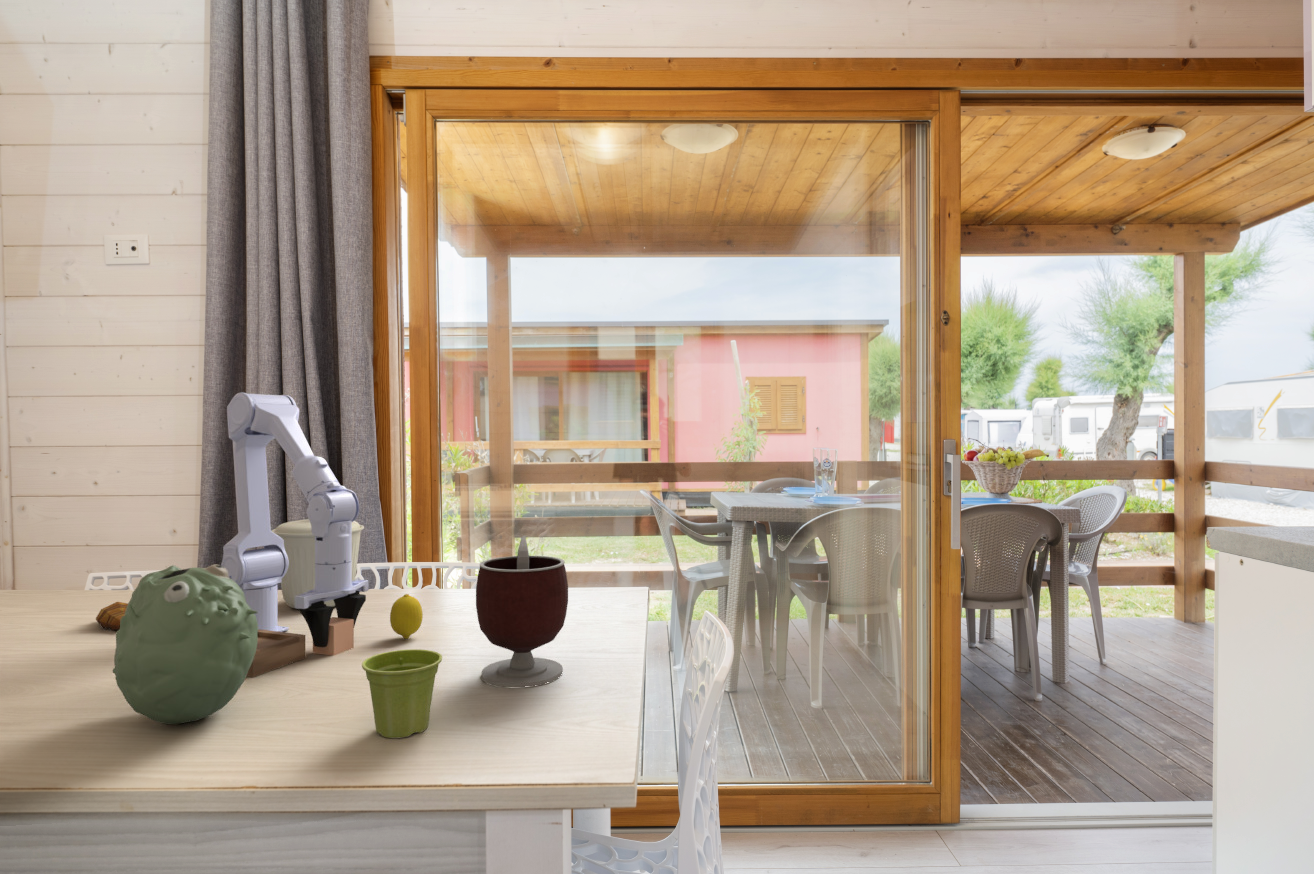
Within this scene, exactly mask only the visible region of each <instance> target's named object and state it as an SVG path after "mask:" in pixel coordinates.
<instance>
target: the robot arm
mask: <svg viewBox="0 0 1314 874" xmlns="http://www.w3.org/2000/svg"><path fill="white" fill-rule="evenodd" d="M226 413H227V414H226V416H227V431H228V432H227V434H228V439H230V440H231V441H232V452H233V453H232V454H233V467H234V468H233V469H234V470H233V471H234V484H235V486H234V487H235V499H236V501H235V502H236V517H237V519H236V520H237V531H238V533H237V534H236V535H234V536H233V538H232V539H230V540H229V541H227V543H225V545H223V547H222V548H223V549H222V550H223V552H222V553H223V555H222V560H221V564H220V565H222V566H223V567H225V568H226V569H227V571H228V577H229V579H231V580H233V581H235V582H236V583H237V584H238V586H239V587H240V588H241V589H242V591H243V592H244V595H245V600H246V603H247V604H248V606H249V607H250V608H251V610H255V611H257V612H258V613H255V616H256V619H257V623H258V629H261V630H270V631H278V632H285V631H288V630H289V626H282V625H279V624H278V623H279V622H278V618H279V616H278V615H279V614H278V611H279V610H278V609H279V608H278V607H279V604H278V599H279V598H278V594H279V593H278V591H279V590H278V587H279V585H278V584H281V578H282V577H284V576H285V574H286V572H287V570H288V565H289V560H288V556H287V554H286V551H285V548H284V540H283V539H282V538H281V537H279V536H278V535H276V534H275V533H273V532H272V527H271V515H270V513H271V512H270V498H269V497H270V496H269V495H270V494H269V484H268V483H269V482H268V481H269V480H268V467H267V453H266V451H267V450H266V448H267V446H268V445H269V443H270V442H271V441H273V440H276V442H277V443H278V444H279V446H280V447H281V448H282V450H283V451H284V452H285V453H286V455H287V457H288V458H289V460H291V462H292V463H293V464H294V466H293V468H292V471H291V475H292V478H293V479H294V481H295V482H296V484H297V485H298V488H299V489H300V490H301V493H302V494H303V496H304V497H305V499H306V501H307V502H308V506H307V508H306V516H307V519H309V521H310V523H311V533H312V534H313V536H315V588H314V589H312V590H310V591H308V592H305V593H303V594H301V595H298V596H295V608H294V609H296V608H299V609H298V611H299V613H300V614H301V616H302V617H303V619H304V620H305V622H306V625H307V626H308V629H309V632H310V635H311V638H312V644H313V643H314V646H315V647H326V646H327V643H328V632H329V623H330V618H332V615H333V611H334V609H335V611H336V614H337V618H346V619H354V627H355V626H356V622H357V619H358V616H359V614H360V612H361V609H362V607H363V606H364V604H365V602H366V600H367V597H366V596H367V595H366V594H362V592H363V593H365V592H368V591H369V579H368V580H367V579H355V581H352V522H353V521H356V520H357V518H358V517H359V512H360V501H359V498H358V497H357V493H356V492H355V491H353V490H351V489H350V488H349V489H348V488H346V486H345V485H341V484H340V482H339V480H338V479H337V478H336V476H335V474H334V472H333V471H332V469H331V468H330V466H329V464H328V462H327V460H326V459H325V458H324V457H321V456H317V455H315V454H314V452H313V451H312V449H311V446H310V445H309V442H308V440H307V438H306V436H305V434H304V432H303V430H302V428H301V426H300V424H299V422H298V421H299V419H300V418H299V417H300V408H299V406H297V403H296V401H295V399H294V398H293V397H292V396H290V395H288V394H281V395H279V394H265V393H264V394H262V393H246V392H242V391H241V392H238V393H236V394H234V395H233V397H232V398H231V400H230V402H229V403H228V405H227V406H226ZM259 547H263V548H259ZM251 548H254V549H251ZM360 593H361V594H360ZM330 600H334V603H335V606H334V607H331V606H326V604H324V602H326V601H330Z"/></svg>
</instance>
